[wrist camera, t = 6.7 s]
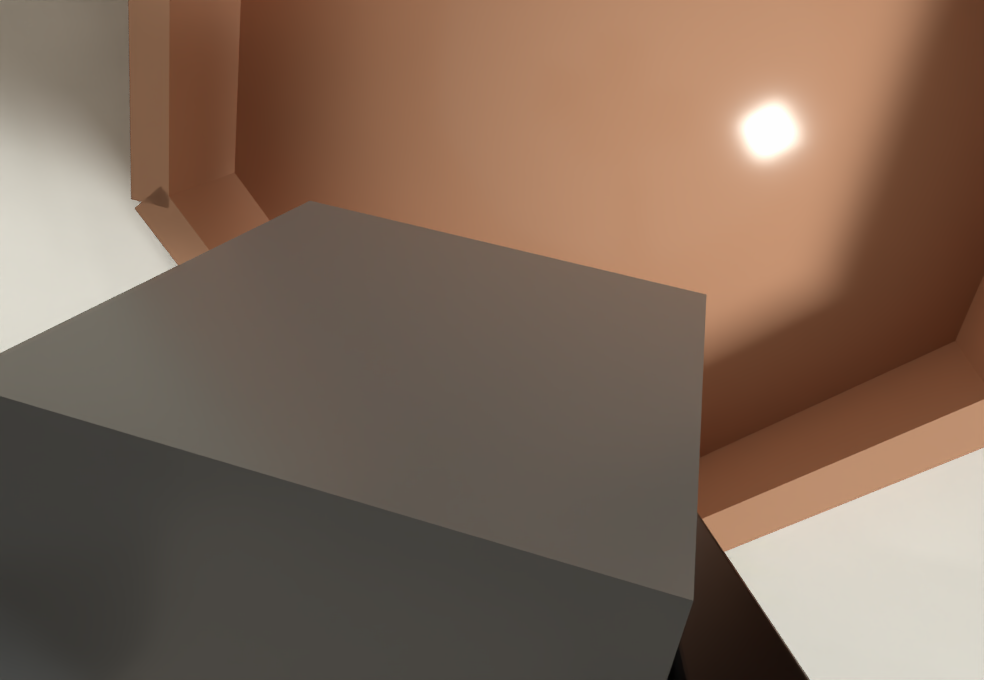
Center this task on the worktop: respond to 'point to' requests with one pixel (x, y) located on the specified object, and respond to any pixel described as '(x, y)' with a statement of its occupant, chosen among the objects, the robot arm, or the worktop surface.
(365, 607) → the pale grey block
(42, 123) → the worktop surface
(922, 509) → the worktop surface
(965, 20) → the bowl
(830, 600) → the worktop surface
